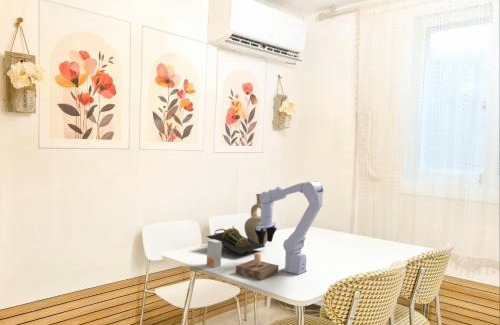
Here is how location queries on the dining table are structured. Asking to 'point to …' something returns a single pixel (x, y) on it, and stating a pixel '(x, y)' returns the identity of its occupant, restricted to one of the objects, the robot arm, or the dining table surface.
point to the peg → (257, 260)
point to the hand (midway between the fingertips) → (265, 242)
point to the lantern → (235, 241)
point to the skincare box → (214, 253)
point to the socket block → (257, 270)
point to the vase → (254, 223)
